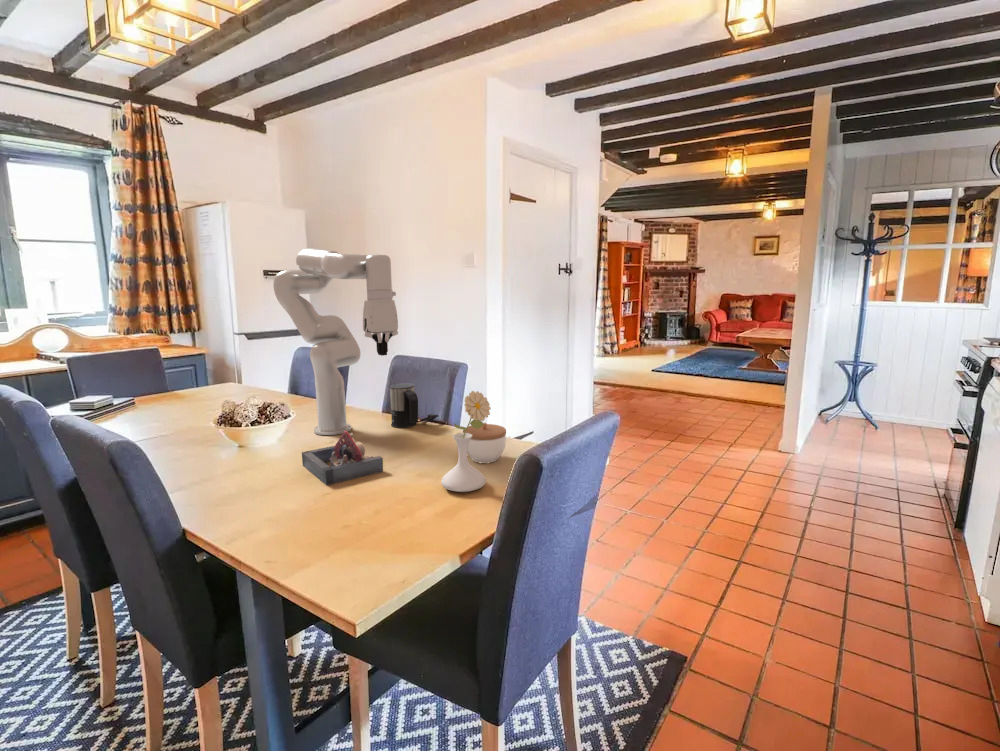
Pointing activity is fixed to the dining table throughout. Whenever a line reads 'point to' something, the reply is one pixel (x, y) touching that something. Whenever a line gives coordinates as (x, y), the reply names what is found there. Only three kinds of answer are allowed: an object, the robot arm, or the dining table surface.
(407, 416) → the milk frother
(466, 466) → the flower in vase
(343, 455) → the brake caliper
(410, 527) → the dining table surface
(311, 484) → the dining table surface
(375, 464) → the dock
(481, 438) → the lidded bowl
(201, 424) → the dining table surface
